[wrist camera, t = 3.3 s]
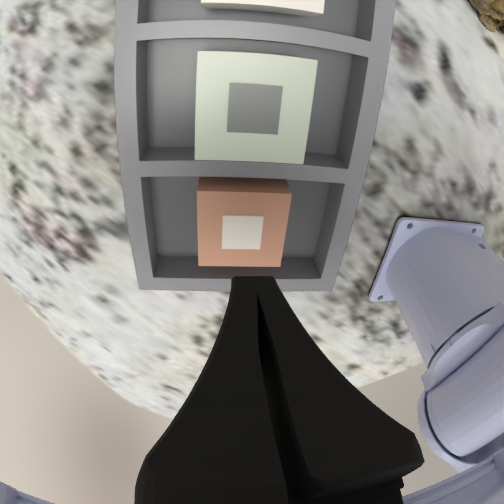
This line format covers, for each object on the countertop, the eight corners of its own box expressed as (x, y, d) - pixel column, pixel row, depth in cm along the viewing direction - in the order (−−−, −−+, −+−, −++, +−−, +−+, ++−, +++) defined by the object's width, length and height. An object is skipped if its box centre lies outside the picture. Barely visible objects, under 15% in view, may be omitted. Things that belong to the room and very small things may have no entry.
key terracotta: (284, 177, 17) (292, 195, 15) (275, 245, 19) (280, 267, 18) (199, 174, 16) (196, 192, 14) (200, 244, 19) (198, 266, 17)
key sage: (305, 57, 12) (318, 60, 10) (294, 149, 14) (303, 165, 13) (201, 50, 11) (197, 51, 10) (198, 145, 14) (194, 160, 12)
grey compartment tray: (372, -63, 9) (399, -77, 7) (320, 259, 22) (332, 290, 20) (146, -84, 8) (131, -105, 5) (148, 256, 21) (139, 289, 18)
